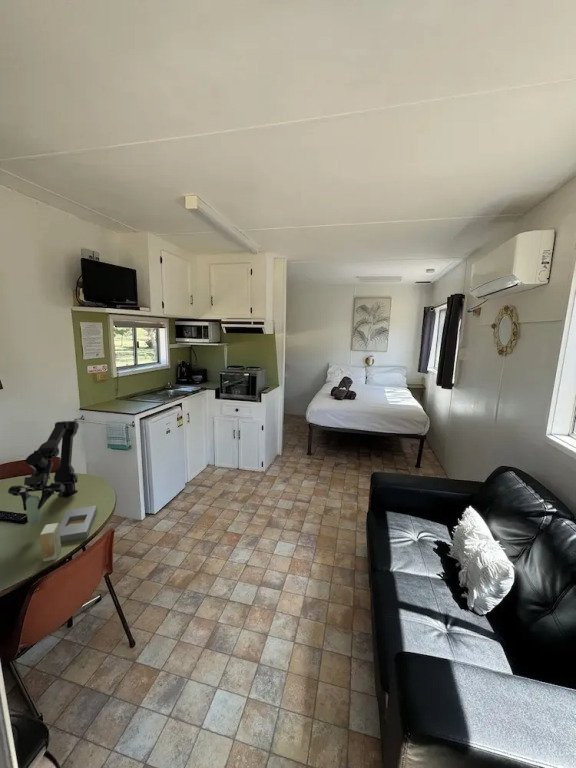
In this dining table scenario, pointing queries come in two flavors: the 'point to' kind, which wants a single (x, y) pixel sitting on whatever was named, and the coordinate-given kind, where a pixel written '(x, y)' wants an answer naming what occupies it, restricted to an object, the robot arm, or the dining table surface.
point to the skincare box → (50, 542)
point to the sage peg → (33, 510)
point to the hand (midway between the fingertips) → (31, 509)
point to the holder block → (77, 523)
